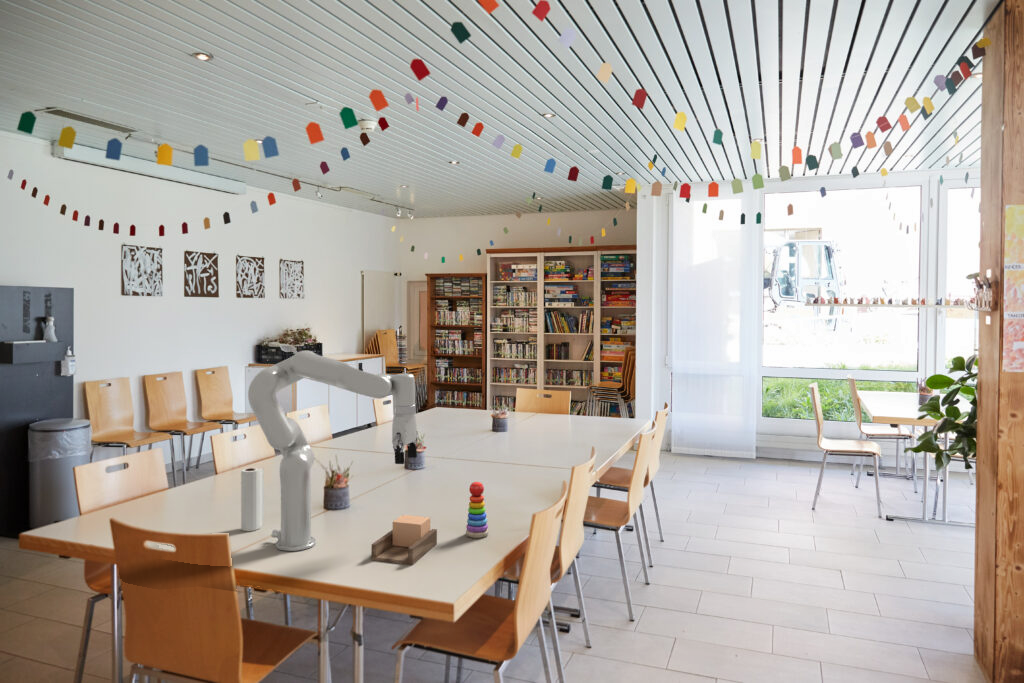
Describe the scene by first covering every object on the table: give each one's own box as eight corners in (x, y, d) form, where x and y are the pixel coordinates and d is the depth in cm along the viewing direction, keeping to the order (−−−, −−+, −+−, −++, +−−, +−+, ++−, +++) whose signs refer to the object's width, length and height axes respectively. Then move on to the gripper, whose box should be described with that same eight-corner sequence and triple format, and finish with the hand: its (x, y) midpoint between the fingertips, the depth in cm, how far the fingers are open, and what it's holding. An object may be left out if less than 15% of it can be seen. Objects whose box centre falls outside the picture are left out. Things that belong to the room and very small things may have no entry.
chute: (371, 560, 213) (371, 544, 213) (398, 539, 232) (398, 525, 232) (412, 565, 209) (413, 548, 209) (436, 544, 228) (436, 529, 228)
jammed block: (392, 545, 223) (392, 521, 223) (402, 537, 231) (402, 514, 230) (420, 548, 220) (421, 524, 220) (430, 540, 228) (430, 517, 228)
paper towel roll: (240, 532, 237) (240, 471, 237) (242, 527, 243) (242, 467, 242) (262, 530, 239) (262, 470, 239) (263, 525, 245) (263, 466, 244)
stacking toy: (488, 531, 243) (489, 479, 242) (488, 538, 235) (489, 485, 234) (466, 531, 242) (466, 479, 242) (465, 538, 234) (466, 484, 234)
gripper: (405, 406, 239) (407, 454, 239) (382, 414, 222) (384, 466, 223) (425, 406, 237) (426, 455, 237) (403, 414, 220) (405, 466, 221)
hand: (406, 460), depth 230 cm, fingers open, 9 cm apart
